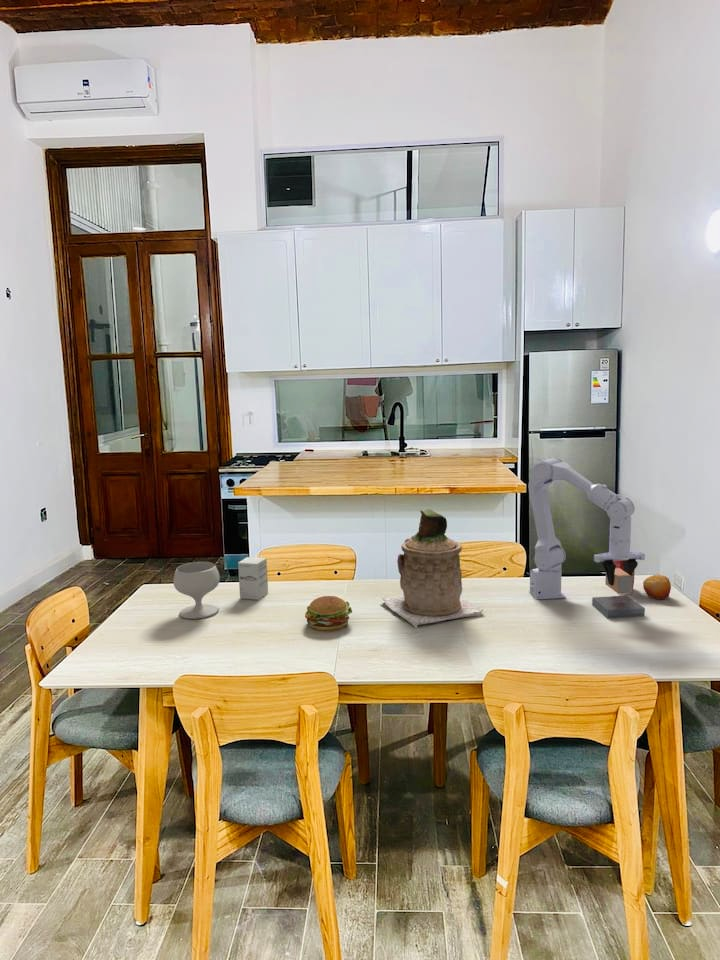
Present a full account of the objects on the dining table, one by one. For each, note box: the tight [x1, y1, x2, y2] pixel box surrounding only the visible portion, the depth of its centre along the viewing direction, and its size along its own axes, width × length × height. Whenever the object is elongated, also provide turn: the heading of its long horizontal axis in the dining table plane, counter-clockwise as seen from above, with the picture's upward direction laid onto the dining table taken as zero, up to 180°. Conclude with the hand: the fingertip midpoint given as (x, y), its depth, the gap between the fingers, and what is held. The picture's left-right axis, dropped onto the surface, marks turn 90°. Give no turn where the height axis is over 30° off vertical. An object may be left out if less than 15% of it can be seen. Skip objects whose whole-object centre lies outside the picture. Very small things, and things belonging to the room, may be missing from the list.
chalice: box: [173, 561, 221, 620], centre depth 205 cm, size 14×14×15 cm
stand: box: [591, 595, 646, 619], centre depth 196 cm, size 11×11×2 cm
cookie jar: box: [380, 508, 484, 629], centre depth 201 cm, size 25×25×32 cm
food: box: [304, 595, 353, 631], centre depth 193 cm, size 14×14×8 cm
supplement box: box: [237, 556, 269, 601], centre depth 219 cm, size 7×7×13 cm
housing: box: [605, 568, 633, 595], centre depth 195 cm, size 9×4×5 cm, turn 3°
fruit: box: [642, 574, 672, 601], centre depth 206 cm, size 8×8×8 cm
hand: (618, 584), depth 195 cm, fingers closed on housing, 4 cm apart
